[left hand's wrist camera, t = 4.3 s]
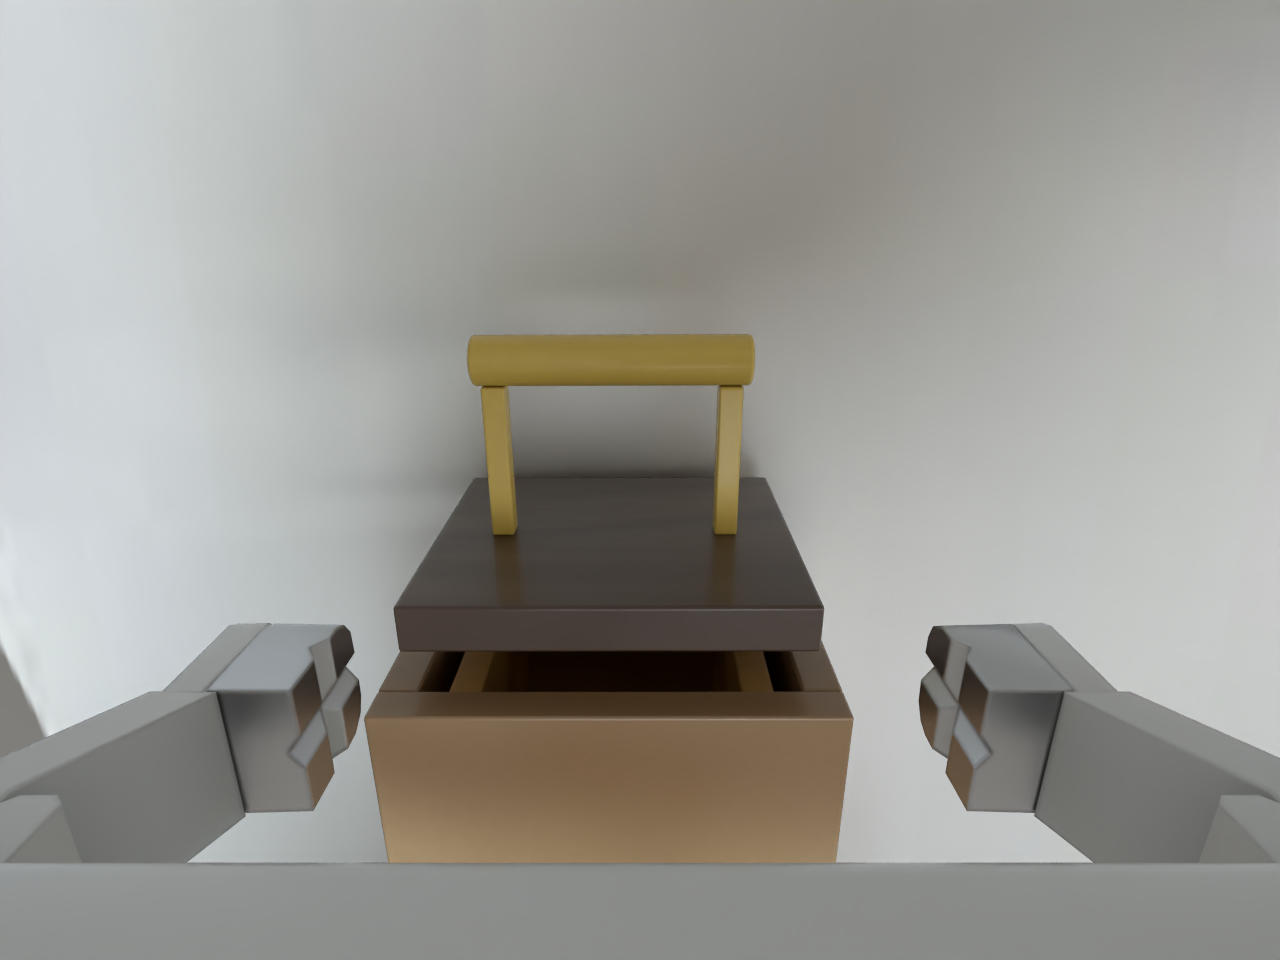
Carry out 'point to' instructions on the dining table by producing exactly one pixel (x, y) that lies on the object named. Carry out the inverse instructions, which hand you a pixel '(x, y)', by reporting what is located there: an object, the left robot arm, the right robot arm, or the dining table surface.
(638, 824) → the open wooden box
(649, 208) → the dining table surface
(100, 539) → the dining table surface
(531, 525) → the drawer
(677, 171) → the dining table surface
